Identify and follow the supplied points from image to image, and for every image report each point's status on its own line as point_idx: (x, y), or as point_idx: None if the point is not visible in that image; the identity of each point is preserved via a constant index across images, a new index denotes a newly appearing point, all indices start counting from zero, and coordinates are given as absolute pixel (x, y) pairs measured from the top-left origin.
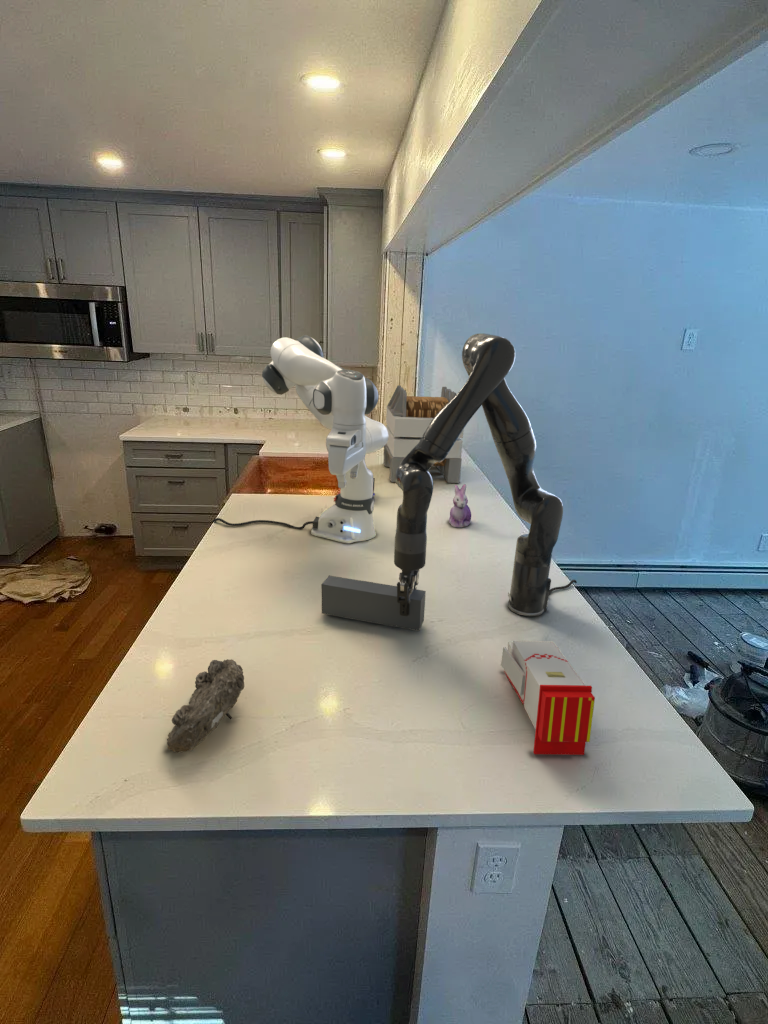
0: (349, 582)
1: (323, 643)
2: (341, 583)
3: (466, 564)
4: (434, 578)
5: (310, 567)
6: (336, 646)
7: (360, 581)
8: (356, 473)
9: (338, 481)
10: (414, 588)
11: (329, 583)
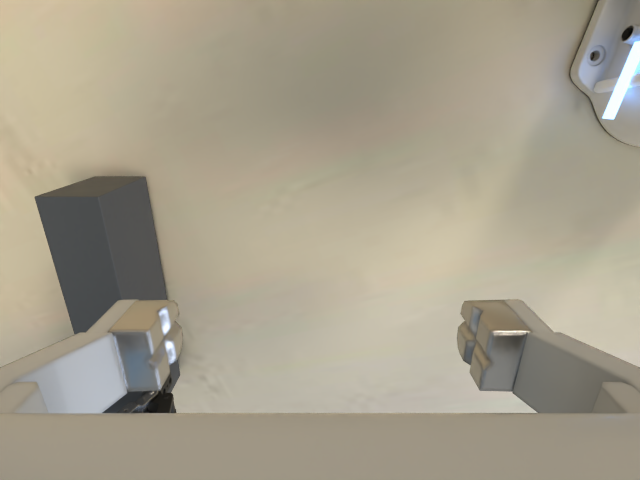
0: (90, 267)
1: (10, 219)
2: (72, 249)
3: (483, 396)
4: (389, 351)
5: (349, 21)
6: (18, 246)
7: (112, 292)
8: (495, 384)
9: (86, 334)
10: (146, 410)
11: (52, 217)
